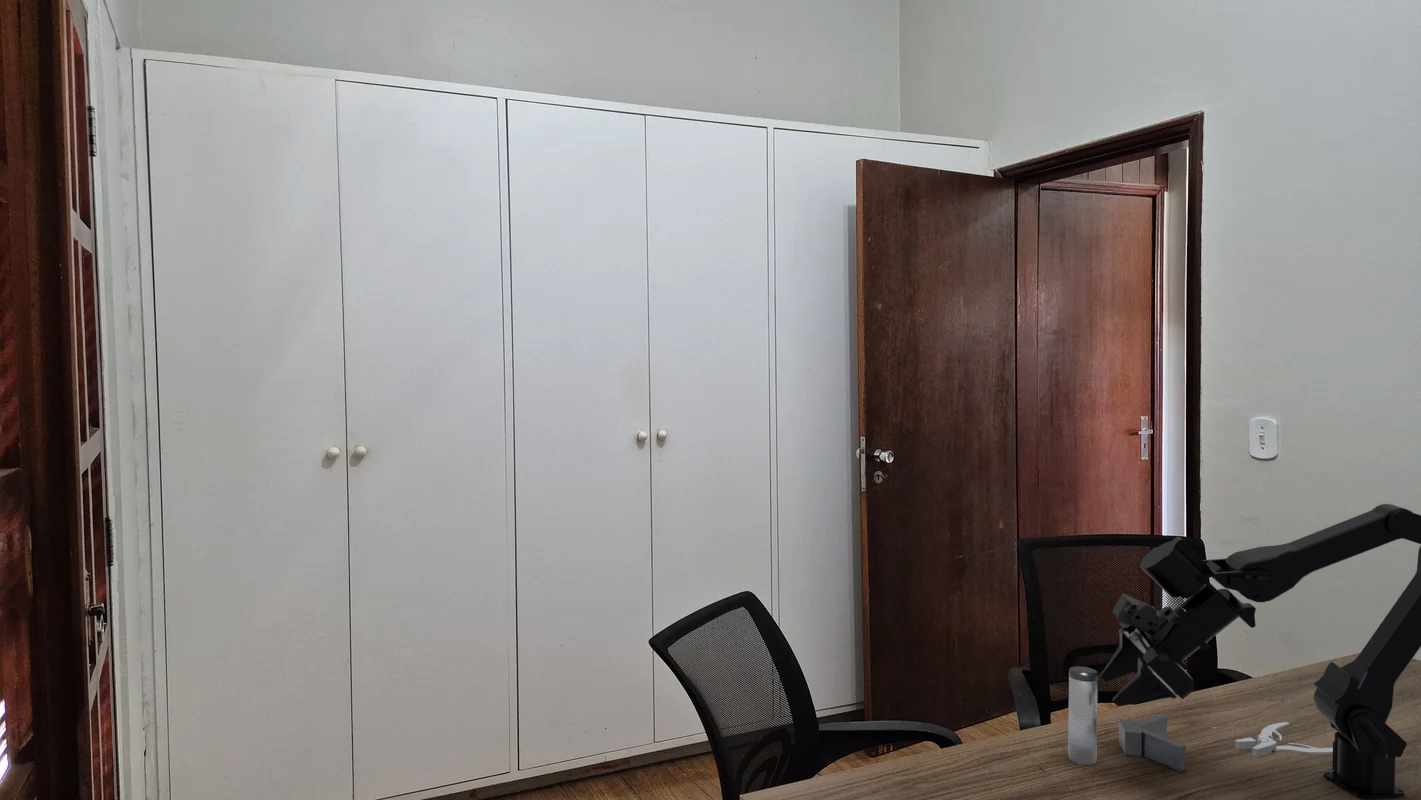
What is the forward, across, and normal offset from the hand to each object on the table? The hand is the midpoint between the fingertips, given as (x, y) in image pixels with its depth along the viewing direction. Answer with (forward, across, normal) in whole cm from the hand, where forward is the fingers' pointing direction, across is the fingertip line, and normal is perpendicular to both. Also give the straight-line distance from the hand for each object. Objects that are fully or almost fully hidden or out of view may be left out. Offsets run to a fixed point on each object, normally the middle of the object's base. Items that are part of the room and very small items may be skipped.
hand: (1108, 690), depth 123 cm
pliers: (-11, -12, +26) cm, 31 cm away
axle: (+10, 0, +5) cm, 11 cm away
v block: (+3, -5, +12) cm, 13 cm away
